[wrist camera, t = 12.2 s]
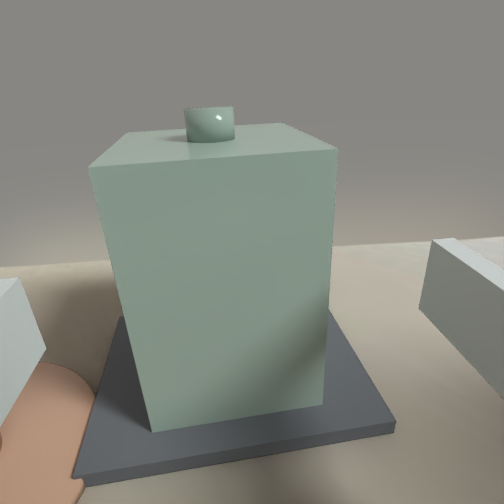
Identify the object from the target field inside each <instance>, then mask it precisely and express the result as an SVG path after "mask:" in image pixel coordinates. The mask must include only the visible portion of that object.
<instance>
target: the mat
mask: <svg viewBox="0 0 504 504" xmlns="http://www.w3.org/2000/svg"><path fill="white" fill-rule="evenodd" d="M395 424H396V420H395V418H394V417H393V415H392V413H391V412H390V410H389V408H388V407H387V405H386V403H385V402H384V400H383V398H382V397H381V395H380V393H379V392H378V390H377V388H376V387H375V385H374V383H373V382H372V380H371V378H370V377H369V375H368V374H367V372H366V370H365V369H364V367H363V365H362V364H361V362H360V360H359V359H358V357H357V355H356V354H355V352H354V350H353V349H352V347H351V345H350V344H349V342H348V340H347V339H346V337H345V335H344V334H343V332H342V330H341V329H340V327H339V325H338V324H337V322H336V321H335V319H334V317H333V316H332V314H331V312H330V311H329V309H328V322H327V338H326V354H325V370H324V386H323V402H322V405H317V406H311V407H305V408H298V409H292V410H286V411H280V412H274V413H268V414H262V415H256V416H250V417H244V418H238V419H232V420H226V421H220V422H214V423H208V424H202V425H196V426H190V427H184V428H178V429H172V430H166V431H160V432H153V433H152V430H151V425H150V421H149V417H148V413H147V409H146V405H145V401H144V397H143V393H142V388H141V384H140V380H139V376H138V372H137V368H136V364H135V360H134V356H133V352H132V347H131V343H130V339H129V335H128V331H127V327H126V323H125V319H124V316H123V317H120V318H119V321H118V324H117V328H116V331H115V335H114V338H113V341H112V345H111V348H110V352H109V355H108V358H107V362H106V365H105V368H104V372H103V375H102V379H101V382H100V385H99V389H98V392H97V395H96V399H95V402H94V406H93V409H92V412H91V416H90V419H89V422H88V426H87V429H86V433H85V436H84V439H83V443H82V446H81V450H80V453H79V456H78V460H77V463H76V466H75V470H74V473H73V479H74V480H75V479H81V478H82V480H83V483H84V485H85V487H90V486H95V485H101V484H107V483H112V482H118V481H124V480H129V479H135V478H141V477H146V476H152V475H158V474H163V473H169V472H175V471H180V470H186V469H192V468H197V467H203V466H209V465H214V464H220V463H226V462H231V461H237V460H243V459H248V458H254V457H260V456H265V455H271V454H277V453H282V452H288V451H294V450H299V449H305V448H311V447H316V446H322V445H328V444H333V443H339V442H345V441H350V440H356V439H362V438H367V437H373V436H379V435H384V434H390V433H394V429H395Z"/></svg>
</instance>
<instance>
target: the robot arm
mask: <svg viewBox="0 0 504 504" xmlns="http://www.w3.org/2000/svg"><path fill="white" fill-rule="evenodd" d="M419 309H420V310H421V311H422V312H423V314H424V315H425V316H426V317H427V318H428V319H429V320H430V321H431V322H432V323H433V324H434V325H435V326H436V327H437V328H438V330H439V331H440V332H441V333H442V334H443V335H444V336H445V337H446V338H447V339H448V340H449V341H450V342H451V343H452V345H453V346H454V347H455V348H456V349H457V350H458V351H459V352H460V353H461V354H462V355H463V356H464V357H465V358H466V360H467V361H468V362H469V363H470V364H471V365H472V366H473V367H474V368H475V369H476V370H477V371H478V372H479V373H480V375H481V376H482V377H483V378H484V379H485V380H486V381H487V382H488V383H489V384H490V385H491V386H492V387H493V388H494V390H495V391H496V392H497V393H498V394H499V395H500V396H501V397H502V398H503V399H504V270H503V269H502V268H500V267H499V266H497V265H495V264H494V263H492V262H491V261H489V260H488V259H486V258H484V257H483V256H481V255H480V254H478V253H477V252H475V251H473V250H472V249H470V248H469V247H467V246H466V245H464V244H462V243H461V242H459V241H458V240H456V239H455V238H447V239H436V240H432V243H431V248H430V253H429V258H428V263H427V268H426V273H425V278H424V283H423V288H422V294H421V299H420V304H419ZM45 350H46V347H45V344H44V341H43V339H42V336H41V333H40V331H39V328H38V325H37V323H36V320H35V317H34V315H33V312H32V309H31V307H30V304H29V301H28V299H27V296H26V293H25V291H24V288H23V286H22V283H21V280H20V278H19V277H18V278H7V279H0V427H1V425H2V423H3V422H4V420H5V418H6V416H7V415H8V413H9V411H10V410H11V408H12V406H13V405H14V403H15V401H16V399H17V398H18V396H19V394H20V393H21V391H22V389H23V387H24V386H25V384H26V382H27V381H28V379H29V377H30V376H31V374H32V372H33V370H34V369H35V367H36V365H37V364H38V362H39V360H40V358H41V357H42V355H43V353H44V352H45Z"/></svg>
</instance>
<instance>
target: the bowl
mask: <svg viewBox="0 0 504 504" xmlns="http://www.w3.org/2000/svg"><path fill="white" fill-rule="evenodd" d="M94 402H95V396H94V394H93V391H92V390H91V388H90V387H89V385H88V384H87V382H86V381H85V380H84V379H83V378H82V377H80V376H79V375H78V374H76V373H75V372H73V371H72V370H70V369H67V368H65V367H62V366H60V365H56V364H51V363H46V362H38V364H37V365H36V367H35V369H34V370H33V372H32V374H31V376H30V377H29V379H28V381H27V382H26V384H25V386H24V387H23V389H22V391H21V393H20V394H19V396H18V398H17V399H16V401H15V403H14V405H13V406H12V408H11V410H10V411H9V413H8V415H7V416H6V418H5V420H4V422H3V423H2V425H1V427H0V504H77V502H78V500H79V499H80V497H81V495H82V493H83V492H84V489H85V485H84V483H83V480H82V478H81V479H75V480H74V479H73V473H74V470H75V466H76V463H77V460H78V456H79V453H80V450H81V446H82V443H83V439H84V436H85V433H86V429H87V426H88V422H89V419H90V416H91V412H92V409H93V406H94Z"/></svg>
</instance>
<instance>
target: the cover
mask: <svg viewBox="0 0 504 504" xmlns="http://www.w3.org/2000/svg"><path fill="white" fill-rule="evenodd" d="M184 116H185V117H184V118H185V126H186V129H177V130H162V131H147V132H130V133H127V134H125V135H124V136H123V137H122V138H121V139H120V140H119V141H117V142H116V143H115V144H114V145H113V146H112V147H110V148H109V149H108V150H107V151H106V152H105V153H104V154H102V155H101V156H100V157H99V158H98V159H97V160H95V161H94V162H93V163H92V164H91V165H90V166H88V170H89V175H90V179H91V183H92V187H93V191H94V195H95V200H96V204H97V208H98V211H99V216H100V220H101V224H102V228H103V232H104V236H105V241H106V245H107V249H108V253H109V257H110V261H111V265H112V269H113V273H114V278H115V282H116V286H117V290H118V294H119V298H120V302H121V306H122V310H123V315H124V319H125V323H126V327H127V331H128V335H129V339H130V343H131V347H132V352H133V356H134V360H135V364H136V368H137V372H138V376H139V380H140V384H141V388H142V393H143V397H144V401H145V405H146V409H147V413H148V417H149V421H150V425H151V430H152V433H153V432H160V431H166V430H172V429H178V428H184V427H190V426H196V425H202V424H208V423H214V422H220V421H226V420H232V419H238V418H244V417H250V416H256V415H262V414H268V413H274V412H280V411H286V410H292V409H298V408H305V407H311V406H317V405H322V402H323V386H324V370H325V354H326V338H327V322H328V306H329V291H330V275H331V259H332V243H333V227H334V211H335V210H334V209H335V193H336V179H337V178H336V177H337V162H338V161H337V160H338V148H336V147H334V146H331V145H329V144H327V143H325V142H323V141H321V140H319V139H316V138H314V137H312V136H310V135H308V134H305V133H303V132H301V131H299V130H297V129H295V128H292V127H290V126H288V125H286V124H284V123H271V124H255V125H241V126H234V110H233V107H231V106H208V107H196V108H188V109H184Z"/></svg>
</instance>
